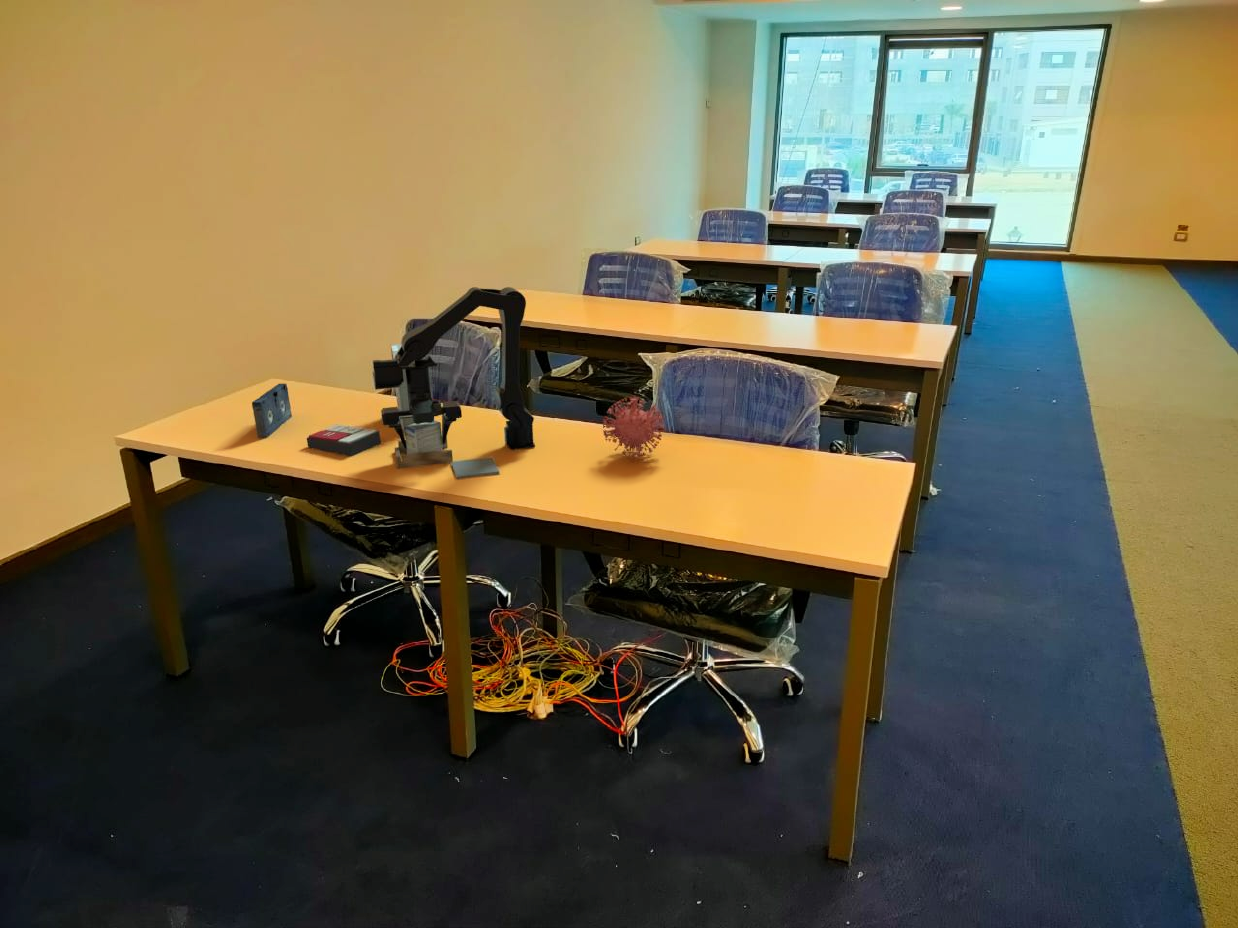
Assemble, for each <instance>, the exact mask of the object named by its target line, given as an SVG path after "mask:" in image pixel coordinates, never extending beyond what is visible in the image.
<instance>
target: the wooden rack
mask: <svg viewBox="0 0 1238 928" xmlns="http://www.w3.org/2000/svg"><path fill="white" fill-rule="evenodd" d="M447 438H448V437H446V441H445V444H444V445H443V443H442V445H443V450H442V451H433V452H424V453H415V454H407V448H406V449H405V448H404V446H403V444H402V441H401V439H398V440H397V444H398V446H396V447H394V453H395V454H394V455H395V460H396V464H397V465H396V466H397V469H407V468H408V469H409V468H415V467H424V466H433V465H443V464H451V462H453V461H454V457H453V450H452V449H448V439H447ZM405 441H406V439H405ZM444 449H445V450H444ZM402 453H406V454H402Z"/></svg>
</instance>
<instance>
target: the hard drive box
mask: <svg viewBox="0 0 1238 928" xmlns="http://www.w3.org/2000/svg"><path fill="white" fill-rule="evenodd" d="M401 346H402V344H401V343H396V344H395V343H394V344H390V352H391V353H390V354H391V360H392V359H395V356H396V354H397V353H398V351H399V349H400V348H401ZM412 363H413V362H412ZM403 378H404V383H402V385H400V387H397V388H394V389H395V396H396V404H397V408H398V411H403V410H409V404H408V395H407V384H406V375H405V369H403ZM400 421H401V425H402V429H404V427H405V426H408V425H411V424H414V421H413V418H402V419H400Z"/></svg>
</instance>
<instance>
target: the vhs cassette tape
mask: <svg viewBox="0 0 1238 928" xmlns="http://www.w3.org/2000/svg"><path fill="white" fill-rule="evenodd" d="M251 405H252V411H253V417H254V423H255V427H256V428H255V429H256V434H257V437H258V439H266V438H267V439H268V438H269V437H270V436H271V435H272V434H274V433H275V432H277V430H278V429H280V428H281V427H282V426H283V425H284V424H286V422H287V420H288V421H289V420H290V419H291V418H293V414H292V410H291V409H292V408H291V401H290V396H289V388H288V385H287V383H278V384H276V385H275V386H273V387H272V388H271V389H269V390H267V391H266V392H264V393H263V394H262V395H261V396H259V397H258V398H256V399H255V400H253V401H252V402H251ZM282 424H283V425H282ZM281 425H282V426H281ZM280 426H281V427H280Z"/></svg>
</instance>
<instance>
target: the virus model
mask: <svg viewBox="0 0 1238 928" xmlns="http://www.w3.org/2000/svg"><path fill="white" fill-rule="evenodd" d="M627 398H629V400H630V402H629V401H628V402H627ZM639 399H640V397H639V396H629V397H624V398H622V399H620V400H619V401H616V402H615V403H613V405H611V407H609V408H608V410H607V411H606V414H609V415H613V417H615V418H616V419H615V418H611V417H609V416H606V415H605V416H604V417H605V418H603V422H602V429H603V436H604V437H605V441H606V442H607V441H608V442H609V443H610V442H611V440H612V442H613V443H614V444H617V441H618V445H617V447H616V448H614V451H617V450H618V448H619V447H623V446H624V450H623V451H622V452H621V454H622V455H623V456H626V454H627V453H626V452H629V454H628V455H627V458H628V459H634V458H635V456H636V457H638V458H641V457H643V456H645V455H646V453H645V452H643V450H644V451H646V452H647V450H648V451H649V454H650V453H652V452H653V450H652V448H650V447H649V445H651V447H653V449H654V450H656V449H657V447H658V444H660V441H661V440H662V438H661V437H663V436H662V433H663V432H665V430H663V429H665V424H664V418H663V416H662V414H661V412H660V411H659V410H658V409H657V407H656V405H653V406H651V408H650V409H649V410H647V409H646V411H644V410H643V409H644V406H645V404H646V403H647V401H646V400H645V399H644V398H641V400H639ZM624 401H625V402H626V403H625V402H624ZM638 402H639V404H638ZM642 403H643V404H642ZM625 404H626V405H625ZM617 405H618V406H617ZM614 406H615V407H614ZM613 409H614V410H615V411H614V410H613ZM656 424H662V425H659V426H658V425H656ZM604 428H606V429H610V428H611V429H610V430H606V429H604ZM661 429H662V430H661ZM657 433H658V434H657ZM608 437H609V438H608ZM656 439H657V440H658V441H657V440H656ZM648 444H649V445H648ZM631 453H632V454H631Z"/></svg>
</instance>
